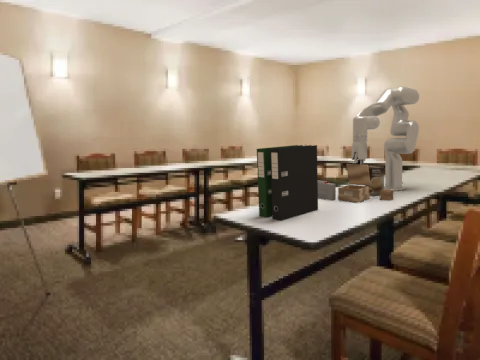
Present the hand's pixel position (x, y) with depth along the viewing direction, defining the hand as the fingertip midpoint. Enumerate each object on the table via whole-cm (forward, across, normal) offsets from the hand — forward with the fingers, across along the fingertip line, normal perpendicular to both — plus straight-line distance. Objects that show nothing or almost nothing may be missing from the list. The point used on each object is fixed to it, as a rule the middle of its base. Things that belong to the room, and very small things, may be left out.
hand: (359, 172), depth 198 cm
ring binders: (+15, +51, -10) cm, 54 cm away
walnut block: (+14, -3, +14) cm, 20 cm away
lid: (+1, +2, 0) cm, 3 cm away
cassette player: (+15, +12, -16) cm, 25 cm away
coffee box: (+15, -12, +3) cm, 19 cm away
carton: (+14, +7, 0) cm, 16 cm away
